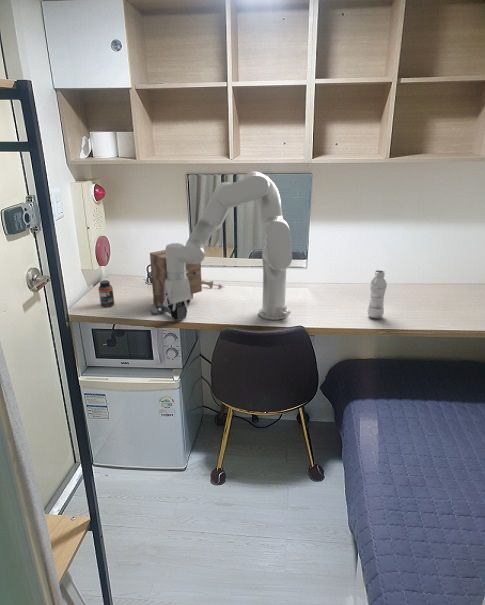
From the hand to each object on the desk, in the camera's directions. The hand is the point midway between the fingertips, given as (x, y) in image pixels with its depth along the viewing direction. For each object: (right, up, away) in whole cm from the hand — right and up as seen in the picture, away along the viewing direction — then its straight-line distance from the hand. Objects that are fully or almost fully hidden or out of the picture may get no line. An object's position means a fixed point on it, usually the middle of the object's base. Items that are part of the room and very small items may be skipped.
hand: (179, 316), depth 189 cm
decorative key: (+8, +13, +39) cm, 42 cm away
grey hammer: (-5, +1, +5) cm, 7 cm away
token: (-11, +1, +8) cm, 13 cm away
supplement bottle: (-34, +4, +16) cm, 38 cm away
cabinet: (-3, +5, +18) cm, 19 cm away
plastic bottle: (+82, -1, +3) cm, 82 cm away
